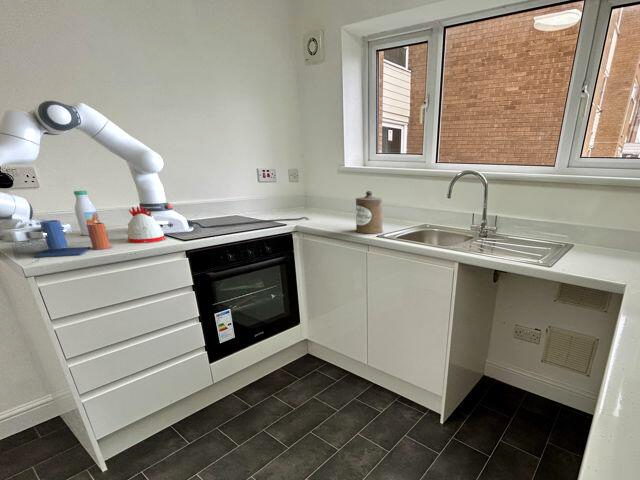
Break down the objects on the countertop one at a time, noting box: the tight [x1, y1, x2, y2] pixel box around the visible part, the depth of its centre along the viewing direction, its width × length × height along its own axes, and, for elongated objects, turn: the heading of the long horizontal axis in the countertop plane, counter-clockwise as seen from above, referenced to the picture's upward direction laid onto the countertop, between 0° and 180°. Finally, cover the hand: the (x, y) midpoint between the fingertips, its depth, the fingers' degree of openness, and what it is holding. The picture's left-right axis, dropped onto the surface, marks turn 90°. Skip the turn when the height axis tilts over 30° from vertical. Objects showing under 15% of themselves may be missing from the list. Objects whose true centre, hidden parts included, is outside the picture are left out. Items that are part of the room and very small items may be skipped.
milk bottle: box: [73, 190, 101, 236], centre depth 164 cm, size 8×8×20 cm
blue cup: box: [40, 219, 69, 249], centre depth 132 cm, size 6×6×10 cm
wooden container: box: [355, 190, 383, 234], centre depth 195 cm, size 15×15×22 cm
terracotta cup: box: [86, 221, 111, 250], centre depth 142 cm, size 6×6×10 cm
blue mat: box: [34, 246, 91, 259], centre depth 135 cm, size 13×12×1 cm
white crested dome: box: [126, 206, 166, 244], centre depth 158 cm, size 14×14×15 cm
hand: (55, 233), depth 132 cm, fingers closed on blue cup, 6 cm apart
